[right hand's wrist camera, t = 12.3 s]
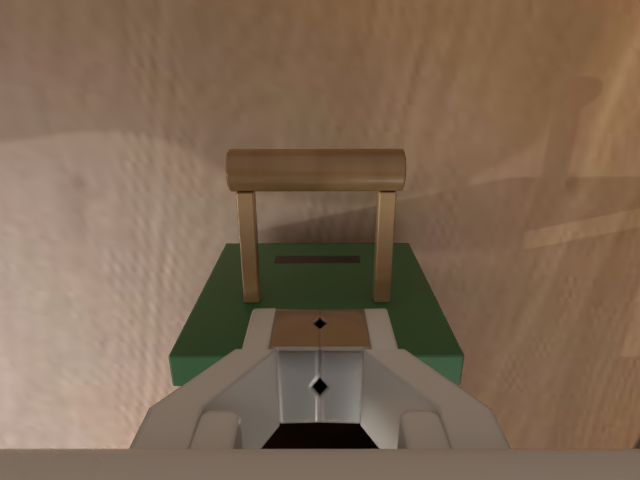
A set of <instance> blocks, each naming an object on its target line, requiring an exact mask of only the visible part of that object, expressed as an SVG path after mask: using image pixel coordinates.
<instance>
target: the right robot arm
mask: <svg viewBox="0 0 640 480" xmlns="http://www.w3.org/2000/svg"><path fill="white" fill-rule="evenodd" d="M315 422H324V423H361V427H362V428H363V429H364V430H365V432H366V433H367V434H368V435H369V437H370V438H371V439H372V440H373V442H374V443H375V444H376V445H377V447H378V448H379V449H261V448H262V447H263V446H264V444H265V443H266V442H267V441H268V439H269V438H270V437H271V436H272V434H273V433H274V432H275V431H276V429H277V428H278V427H279V423H315ZM0 480H640V449H511V448H510V446H509V444H508V442H507V440H506V438H505V436H504V434H503V432H502V430H501V428H500V426H499V424H498V422H497V420H496V418H495V416H494V414H493V412H492V410H491V408H489V407H488V406H486V405H485V404H483V403H482V402H480V401H479V400H477V399H476V398H475V397H473V396H472V395H470V394H469V393H467V392H466V391H464V390H463V389H462V388H460V387H459V386H457V385H456V384H454V383H453V382H451V381H450V380H449V379H447V378H446V377H444V376H443V375H441V374H440V373H438V372H437V371H435V370H434V369H433V368H431V367H430V366H428V365H427V364H425V363H424V362H422V361H421V360H420V359H418V358H417V357H415V356H414V355H412V354H411V353H409V352H408V351H407V350H405V349H398V347H397V343H396V340H395V336H394V333H393V329H392V325H391V322H390V318H389V315H388V311H387V309H385V308H374V309H331V310H320V309H275V308H260V309H254V310H253V311H252V314H251V318H250V321H249V325H248V329H247V332H246V336H245V340H244V343H243V347H242V349H235V350H233V351H232V352H231V353H229V354H228V355H226V356H225V357H223V358H222V359H220V360H219V361H217V362H216V363H215V364H213V365H212V366H210V367H209V368H207V369H206V370H204V371H203V372H201V373H200V374H199V375H197V376H196V377H194V378H193V379H191V380H190V381H188V382H187V383H185V384H184V385H183V386H181V387H180V388H178V389H177V390H175V391H174V392H172V393H171V394H169V395H168V396H167V397H165V398H164V399H162V400H161V401H159V402H158V403H156V404H155V405H153V406H152V407H151V408H149V410H148V412H147V414H146V416H145V418H144V420H143V422H142V424H141V426H140V428H139V430H138V432H137V434H136V436H135V438H134V440H133V442H132V444H131V446H130V448H129V449H0Z"/></svg>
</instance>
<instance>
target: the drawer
mask: <svg viewBox="0 0 640 480" xmlns="http://www.w3.org/2000/svg"><path fill="white" fill-rule="evenodd" d="M226 178H227V184H228V187H229V190H230V191H237V193H236V200H237V214H238V227H239V240H240V244H226V246H225V247H224V249H223V251H222V253H221V255H220V257H219V259H218V261H217V263H216V265H215V267H214V269H213V271H212V273H211V275H210V277H209V279H208V281H207V283H206V285H205V286H204V288H203V290H202V292H201V294H200V296H199V298H198V300H197V302H196V304H195V306H194V308H193V310H192V312H191V314H190V316H189V318H188V320H187V322H186V324H185V325H184V327H183V329H182V331H181V333H180V335H179V337H178V339H177V341H176V343H175V345H174V347H173V349H172V351H171V353H170V355H169V363H170V369H171V376H172V382H173V385H174V386H183V385H184V384H185V383H187V382H188V381H190V380H191V379H193V378H194V377H196V376H197V375H199V374H200V373H201V372H203V371H204V370H206V369H207V368H209V367H210V366H212V365H213V364H215V363H216V362H217V361H219V360H220V359H222V358H223V357H225V356H226V355H228V354H229V353H231V352H232V351H233V350H235V349H242V347H243V343H244V340H245V336H246V332H247V329H248V325H249V321H250V318H251V314H252V311H253V310H254V309H260V308H275V309H320V310H331V309H374V308H385V309H387V311H388V315H389V318H390V322H391V325H392V329H393V333H394V336H395V340H396V343H397V347H398V349H405V350H407V351H408V352H409V353H411V354H412V355H414V356H415V357H417V358H418V359H420V360H421V361H422V362H424V363H425V364H427V365H428V366H430V367H431V368H433V369H434V370H435V371H437V372H438V373H440V374H441V375H443V376H444V377H446V378H447V379H449V380H450V381H451V382H453V383H454V384H456V385H460V382H461V375H462V368H463V360H464V354H463V352H462V350H461V348H460V346H459V344H458V342H457V340H456V338H455V336H454V334H453V332H452V330H451V328H450V326H449V324H448V322H447V320H446V318H445V316H444V314H443V312H442V310H441V308H440V306H439V304H438V302H437V300H436V298H435V296H434V294H433V292H432V290H431V288H430V286H429V284H428V281H427V279H426V277H425V275H424V273H423V271H422V269H421V267H420V265H419V263H418V261H417V259H416V257H415V255H414V253H413V251H412V249H411V247H410V245H409V243H393V241H394V225H395V209H396V192H395V191H401V190H403V188H404V184H405V178H406V157H405V153H404V150H403V149H230V150H229V151H228V153H227V157H226ZM255 191H377V213H376V234H375V243H282V244H258V232H257V215H256V198H255ZM261 449H379V448H378V447H377V445H376V444H375V443H374V442H373V440H372V439H371V438H370V437H369V435H368V434H367V433H366V432H365V430H364V429H363V428H362V427H361V423H324V422H315V423H279V427H278V428H277V429H276V431H275V432H274V433H273V434H272V436H271V437H270V438H269V439H268V441H267V442H266V443H265V444H264V446H263V447H262V448H261Z"/></svg>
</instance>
